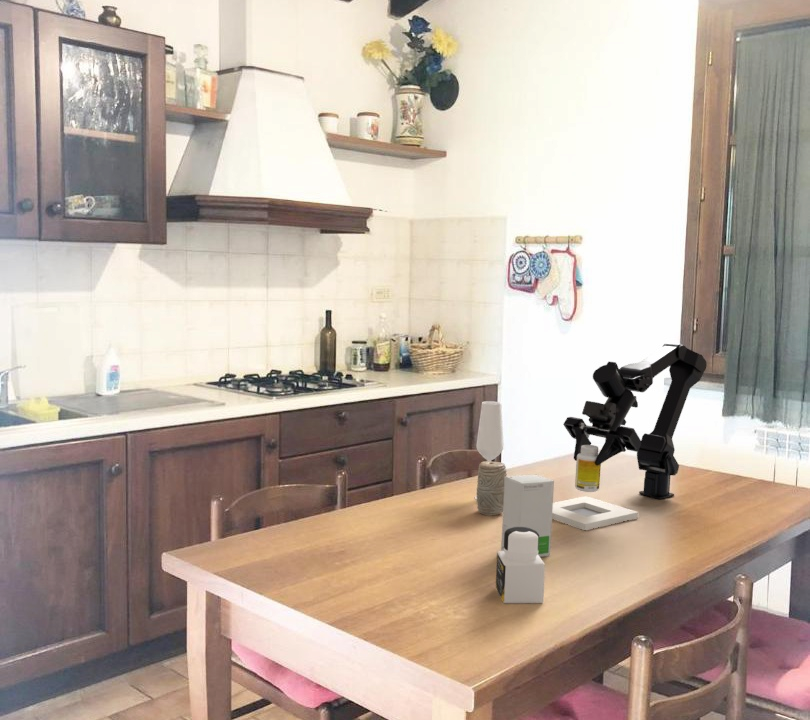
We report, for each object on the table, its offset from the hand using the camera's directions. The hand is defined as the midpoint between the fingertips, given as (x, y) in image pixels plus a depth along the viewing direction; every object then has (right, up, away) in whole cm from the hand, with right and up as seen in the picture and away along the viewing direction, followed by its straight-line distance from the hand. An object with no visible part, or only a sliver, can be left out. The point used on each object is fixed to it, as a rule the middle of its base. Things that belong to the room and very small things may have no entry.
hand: (585, 462), depth 203 cm
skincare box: (-17, -16, -26) cm, 35 cm away
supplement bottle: (+1, -7, +2) cm, 7 cm away
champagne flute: (-21, -11, +15) cm, 28 cm away
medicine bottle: (-22, -18, -48) cm, 56 cm away
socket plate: (0, -13, +2) cm, 13 cm away
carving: (-22, -12, +2) cm, 25 cm away
